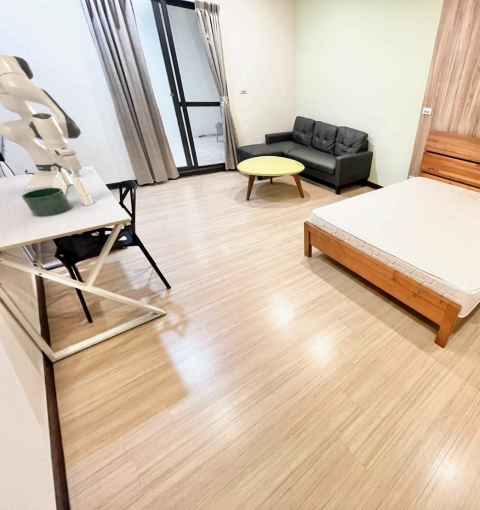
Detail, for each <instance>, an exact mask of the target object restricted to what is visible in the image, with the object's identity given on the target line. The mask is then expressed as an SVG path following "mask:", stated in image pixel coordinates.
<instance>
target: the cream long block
mask: <svg viewBox="0 0 480 510" xmlns="http://www.w3.org/2000/svg"><path fill="white" fill-rule="evenodd" d="M38 172H39V171H38ZM38 172H34V173H35V174H33V175H32V177H31V178H30V180H29V182H28V183H27V185H26V187H25V188H24V190H25V191H26V193H28V192H31V191H34V190H39V189H45V188H60V189H62V191H63V192H64V194H65V195H66V193H67V190H68V185H67V186H66V183H65V181H64V180H63V178H62V176H61V174H60V173H59V171H58V170H57V171H48V172H39V173H38Z"/></svg>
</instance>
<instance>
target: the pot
mask: <svg viewBox="0 0 480 510" xmlns="http://www.w3.org/2000/svg"><path fill="white" fill-rule="evenodd" d="M21 198H22V200H23V202H24V203H25V204H26V206H27V208H28V209H29V211H30V212H31V214H32V215H33V216H35V217H43V218H44V217H51V216H52V217H53V216H56V215H60V214H63V213H66V212H68V211H69V210H71V209H72V205H71V202H70V200H69V199H68V198H67V196H66V193H65V194H64V192H63V191H62V189H60V188H45V189H39V190H34V191H31V192H25V193H23V194H22V195H21Z"/></svg>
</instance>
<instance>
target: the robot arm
mask: <svg viewBox="0 0 480 510" xmlns="http://www.w3.org/2000/svg"><path fill="white" fill-rule="evenodd" d="M33 78H34V71H33V68H32V67H31V65H30V64H29V63H28V62H27V61H26V60H25V59H24V58H22V57H19V56H15V55H13V56H12V55H6V54H0V103H1V105H2V107H3V108H4V109H5V110H7V111H9V112H11V113H14V114H17V115H18V116H19V117H20V119H15V120H8V121H4V122H2V123H0V135H1V136H2V137H3V139H6V140H7V141H9V142H12V143H15V144H16V145H19V146H20V147H21V148H22V149H24V150H25V151H26V152H27V153H28V154H29V156H30V157H31V158H32V160H33V162H34V163H35V167H36V169H37V170H38V171H37V173H39V172H48V171H57V170H58V171H59V173H60V174H61V176H62V178H63V180H64V181H65V183H66V186H67V187H68V186H70V185H73V183H72V181H71V180H70V179H71V178H73V174H74V177H77V178H79V177H80V178H81V176H82V175H80V170H82V165H81V163H80V160H79V158H78V156H77V155H76V154H77V152H76V149H74V148H73V147H72V146H71V145H70V143H69V141H68V140H67V139H69V140H71V139H78V138H79V137H80V136H81V134H82V132H81V129H80V127H79V125H78V124H77V123H76V121H74V120H73V119H72V118H71V117H70V116H69V115H68V114H67V112H66V111H65V110H64V109H63V108H62V107H61V105H60V104H59V103H58V102H57V101H56V100H55V99H54V98H53V97H52V96H51V95H50V94H49V93H48V92H47V90H45V89H43V88H40V87H38V86H37V85H36V84H35V83H33V82H32V81H31V80H32V79H33ZM31 103H36V104H39V105H42V106H45V107H47V108H49V110H50V111H51V112H52V114H53V115H55V116H56V117H57V118H54V116H53V115H52V114H50V113H45V112H44V113H43V112H41V113H40V112H37V111H36V110H35V109H34V107H33V106H32V104H31ZM38 140H42V141H43V143H44V144H41V143H40V142H39V141H38ZM24 173H25V174H27V175H34V174H35V173H36V172H29V170H27V169H25V170H24Z"/></svg>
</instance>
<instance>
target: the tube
mask: <svg viewBox="0 0 480 510" xmlns="http://www.w3.org/2000/svg"><path fill="white" fill-rule="evenodd" d="M72 177H73V176H72ZM70 180H71V181H72V183H73V184H72V185H73V188H74V189H75V191H76V192H77V194H78V196H79V198H80V200H81V201H82V204H83V205H84V206H90V205H93V204H94V200H93V199H92V197H91V195H90V193H89V191H88V190H87V189H88V188H87V187H86V186H85V183H84V182H83V180H82V178H81V177H79V178H77V177H75V176H74V177H73V178H71V179H70Z"/></svg>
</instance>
